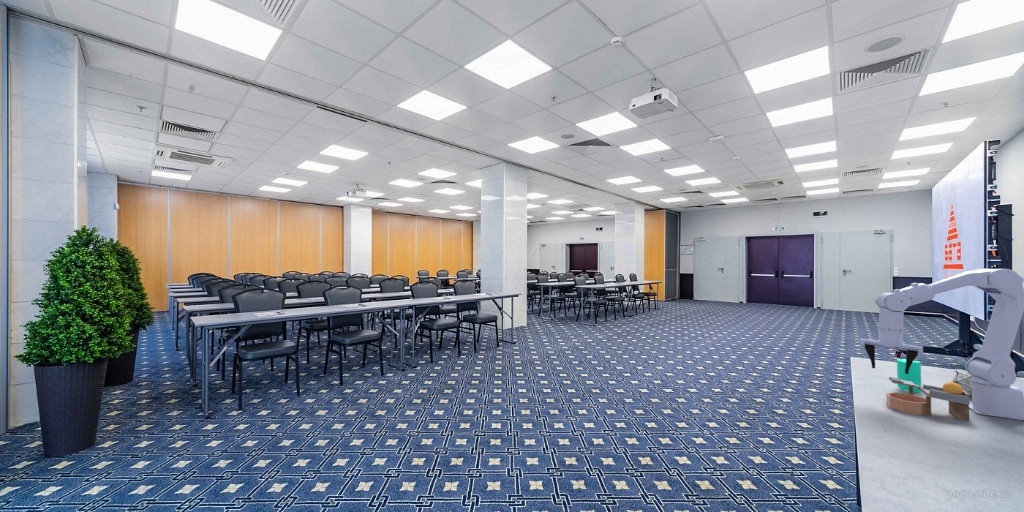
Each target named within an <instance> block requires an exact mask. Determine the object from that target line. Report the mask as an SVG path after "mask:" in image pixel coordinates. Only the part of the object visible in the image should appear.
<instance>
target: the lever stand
mask: <svg viewBox="0 0 1024 512" xmlns="http://www.w3.org/2000/svg"><path fill="white" fill-rule="evenodd" d="M911 382H912V381H911ZM908 394H911V395H914V392H913V387H911V386H909V391H908ZM925 398H926V413H927V414H926V416H927V417H930V418H931V417H932V397H931V396H928V395H925ZM948 413H949V414H951V415H952V416H953V417H954V418H956V419H957V420H961V421H970V408H969V405H966V404H961V403H956V402H951V401H948Z"/></svg>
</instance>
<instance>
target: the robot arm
mask: <svg viewBox="0 0 1024 512" xmlns="http://www.w3.org/2000/svg"><path fill="white" fill-rule="evenodd" d="M1023 284H1024V278H1023V277H1022V276H1021V275H1020V274H1018V273H1017V272H1016V271H1015V270H1013V269H1009V268H984V267H979V268H975V269H973V270H967V271H964V272H961V273H958V274H956V275H953V276H950V277H947V278H944V279H941V280H938V281H936V282H933V283H929V284H926V283H921V282H920V283H918V282H912V283H910V285H909V286H906V287H903V288H900V289H899V288H896V289H893V291H892V292H883V293H880V294H879V295H878V297H877V298H876V299H875V300H874V301H875V304H876V306H877V307H878V308H879V311H878V312H879V313H878V339H870V338H860V345H861V346H864V349H865V351H866V353H867V356H868V357H869V360H870V363H871V368H872V369H876V358H875V357H876V348H883V349H884V348H885V349H890V350H891V349H892V350H899V351H905V352H906V356H905V359H906V367H905V374H908V372H909V369H910V366H911V364H912V362H913V361H915V359H916V358H917V357H918V355H919V354H923V353H924V346H922V345H916V344H908V343H904V317H905V316H904V315H905V314H904V311H905V310H907V309H908V308H909V307H912V306H915V305H917V304H921V303H924V302H929V301H931V300H933V299H935V297H936V295H937V294H940V293H946V292H949V291H952V290H956V289H959V288H963V287H969V286H970V287H975V288H977V289H978V290H981V291H983V292H984V293H985V292H986V293H987V294H988V295H989V296H990V297H992V299H994V300H995V303H994V307H993V309H992V312H991V316H990V319H989V323H988V326H987V329H986V332H985V336H984V339H983V341H982V344H981V345H982V346H981V348H980V349H979V350H977V351H975V352H973V354H972V356H971V358H970V359H968V360H967V362H966V363H965V366H964V367H965V370H966V373H967V374H970V375H971V379H972V395H971V396H972V397H971V400H972V403H971V404H970V405H969V410H972V411H973V412H974V413H976V414H977V415H984V416H991V417H998V418H1005V419H1006V418H1007V419H1012V420H1019V421H1024V393H1023V389H1021V387H1018V386H1014V385H1013V384H1014V383H1015V382H1016V380H1017V373H1016V371H1015V369H1016V363H1015V362H1014V360H1013V359H1012V358H1011V352H1012V349H1013V346H1014V343H1015V339H1016V337H1017V333H1018V330H1019V327H1020V324H1021V320H1022V317H1023V314H1024V285H1023Z"/></svg>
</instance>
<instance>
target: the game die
mask: <svg viewBox="0 0 1024 512" xmlns="http://www.w3.org/2000/svg"><path fill="white" fill-rule="evenodd" d="M954 372H955V373H956V374H955V376H954V378H953V380H952V381H951V382H953V383H956V384H958V385H960V386H961V387H962V389H963V390H964V391H965V392H967V393H968V394H969V396H972V379H971V375H970V374H969V373H967V372H966V373H964V372H958V371H957V370H955V371H954Z"/></svg>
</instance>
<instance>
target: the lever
mask: <svg viewBox="0 0 1024 512" xmlns="http://www.w3.org/2000/svg"><path fill="white" fill-rule="evenodd" d="M888 380H889V381H890V382H891V383H893V384H896V385H897V384H900V385H905V386H911V387H916V388H917V389H918V390H920V391H921V392H920V393H923V394H924V395H925V396H926V395H928V396H931V399H938V400H942V401H948V402H949V401H951V402H956V403H961V404H966V405H971V404H970V403H971V402H970V398H971V397H970V395H969V394H968V393H967V392H965V391H964V390H963V393H962V394H961V395H957V394H952V393H947V392H944V390H943V387H940V386H935V385H930V384H925V383H922V386H921V387H920V386H919V385H915V384H914V383H913V382H911V381H905V380H901V379H899V378H897V377H894V376H893V377H892V376H889V377H888Z"/></svg>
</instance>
